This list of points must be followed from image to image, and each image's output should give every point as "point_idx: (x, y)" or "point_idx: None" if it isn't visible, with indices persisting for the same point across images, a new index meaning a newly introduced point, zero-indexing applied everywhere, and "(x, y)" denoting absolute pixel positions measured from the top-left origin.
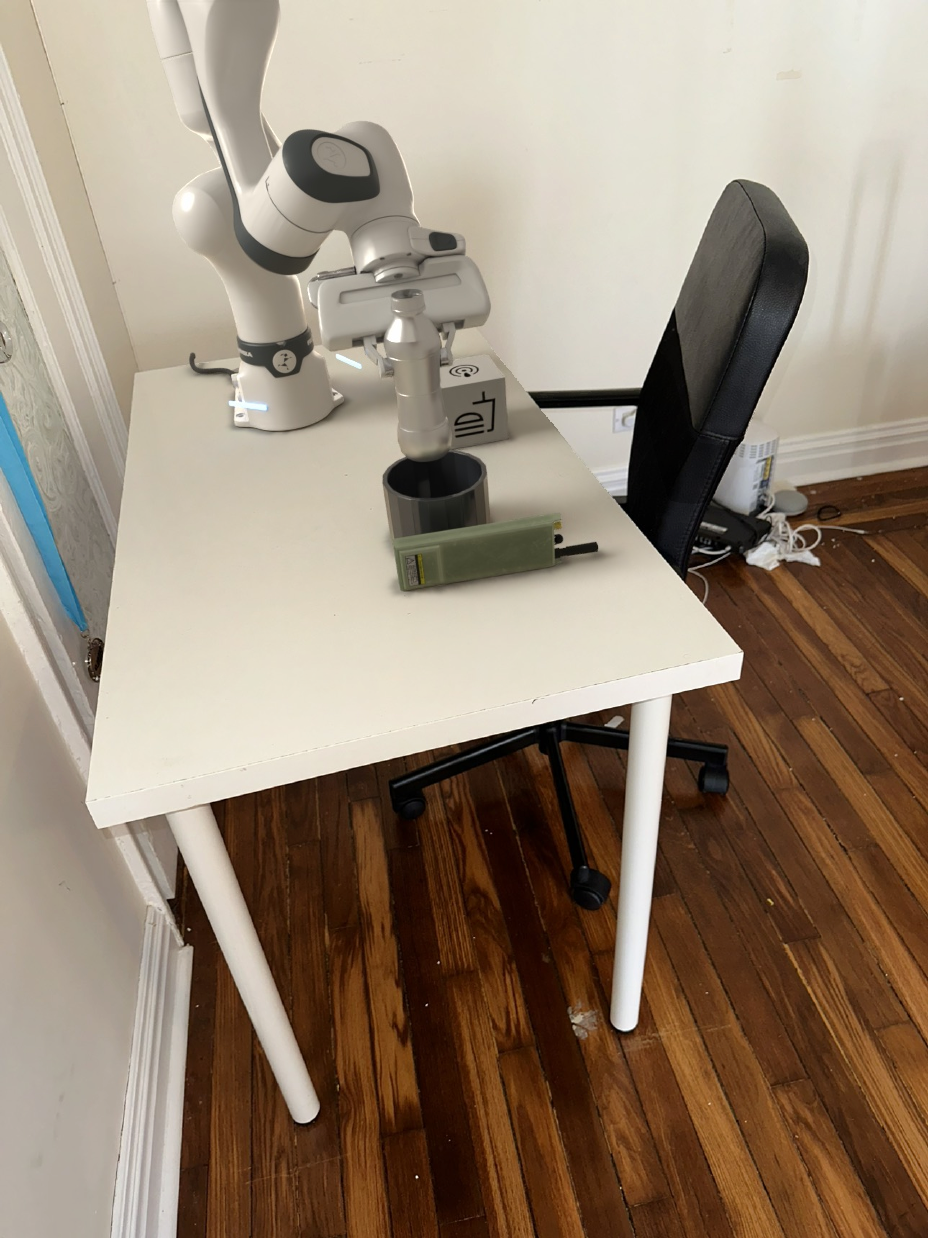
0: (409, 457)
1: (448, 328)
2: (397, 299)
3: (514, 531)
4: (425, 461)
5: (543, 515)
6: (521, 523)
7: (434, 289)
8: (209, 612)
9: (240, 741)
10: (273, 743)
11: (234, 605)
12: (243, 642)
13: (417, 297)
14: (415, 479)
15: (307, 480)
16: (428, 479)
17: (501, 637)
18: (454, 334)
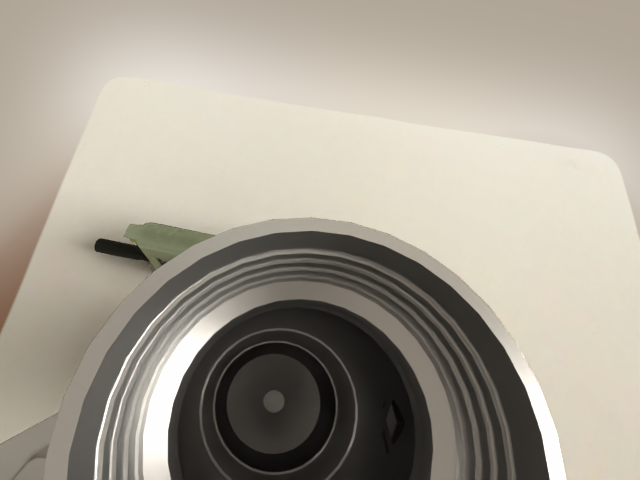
0: (320, 376)
1: (15, 476)
2: (477, 298)
3: (205, 233)
4: (291, 356)
5: (148, 241)
6: (188, 239)
7: None
8: (577, 356)
9: (521, 160)
10: (495, 147)
11: (549, 357)
12: (531, 282)
13: (237, 235)
14: None
15: None
16: None
17: (282, 173)
18: (20, 433)
